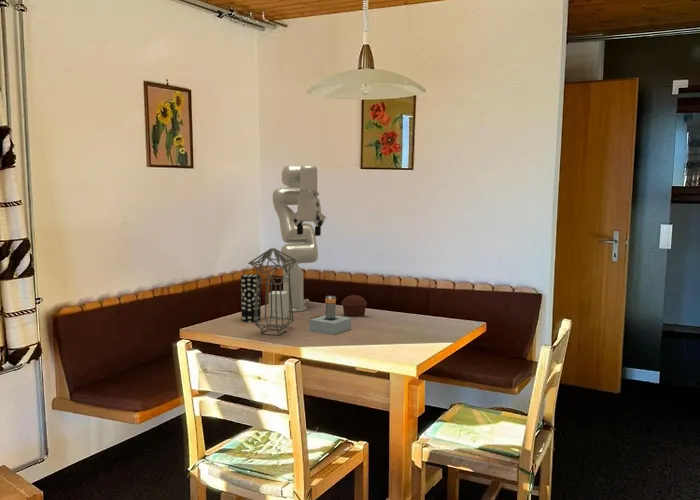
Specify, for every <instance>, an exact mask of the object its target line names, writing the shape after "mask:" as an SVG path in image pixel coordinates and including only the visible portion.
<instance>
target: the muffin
mask: <svg viewBox="0 0 700 500" xmlns="http://www.w3.org/2000/svg"><path fill="white" fill-rule="evenodd" d="M367 302H368V301H367V300H366V299H365V298H364V297H363V296H360V295H357V294H356V295H355V294H352V295H348V296H346V297H344V298H343V300H342V302H341V305H342V308H343V309H342V310H343V315H344V316H346V317H351V318H352V317H353V318H354V317H356V318H357V317H360V318H365V313H366V308H367V306H368V303H367Z"/></svg>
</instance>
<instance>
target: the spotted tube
mask: <svg viewBox="0 0 700 500" xmlns="http://www.w3.org/2000/svg"><path fill="white" fill-rule="evenodd" d="M260 277H261V274H258V273H257V281H258V280H259V279H260ZM259 282H261V280H260V281H259ZM240 297H241V299H240V301H241V302H240V303H241V309H240V310H241V322H244V323H254V314H255V299H256V273H247V274H246V273H245V274H241V275H240ZM261 314H262V313H261V283H258V321H259V320H261V319H262V316H261ZM261 321H262V320H261ZM255 322H256V319H255ZM259 322H260V321H259Z"/></svg>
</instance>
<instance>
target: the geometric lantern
mask: <svg viewBox="0 0 700 500" xmlns="http://www.w3.org/2000/svg"><path fill="white" fill-rule="evenodd" d="M272 254H274V257H275V258H272ZM281 254H283V255H285V256H287V257H289V258H291V259H289V260H286V259H285V258H284V257H283V256H282V255H281ZM256 260H257V261H256ZM266 260H267V262H266V265H264V263H265V261H266ZM274 261H276V262H277V263H276V262H274ZM288 261H291V262H290V263H289V262H288ZM296 261H297V260H296V259H294V258H292V257H290V256H288V255H286V254H284V253H282V252H281V250H279V249H277V248H275V247H271V248H269V249H267V250H266V251H264V252H263V253H261V254H259V255H258V256H257V257H255V258H254V259H252V260H250V261H249V262H248V265H251V266H252V267H254V268H255V274H256V299H255V314H254V322H253V324H254V325H255V326H256V327H257V329H259V330H260V335H267V336H278V337H279V336H282V335H283V334H285V333H286V332H287V330H284V329H287V327H288V326H289V325H290V324H292V323H293V322H294V312H293V308H292V296H291V285H290V269H291V268H292V267H293V265H294V264H295V263H296ZM270 262H271V263H272V264H273V265H269V263H270ZM280 262H281V264H280ZM282 262H283V263H284V264H283V263H282ZM285 262H287V263H288V264H285ZM292 263H293V264H292ZM291 264H292V266H291V267H290V265H291ZM288 265H289V270H287V266H288ZM257 266H258V267H257ZM285 267H286V268H285ZM264 268H265V270H264ZM267 268H271V269H270V270H268V269H267ZM278 268H282V269H283V268H284V270H285V274H286V272H288V271H289V275H288V277H289V279H288V278H284V276H285V274H284V276H283V275H282V277H274V274H275V272H276V271H277V269H278ZM262 270H263V271H262ZM258 271H259V272H260V273H261V274H260V279H259V280H258V281H257V274H258ZM272 271H273V272H272ZM270 272H272V274H270ZM263 274H265V276H266V277H263V278H262V276H263ZM287 274H288V273H287ZM265 279H266V280H265ZM269 279H270V282H268V280H269ZM274 279H279V280H280V279H281V281H280V282H279V283H276V282H275V280H274ZM283 279H288V280H287V281H288V282H289V312H288V313H289V317H287V318H283V310H282V295H281V291H282V284H283V283H284V282H283ZM263 280H265V282H263ZM259 281H260V282H259ZM261 281H262V282H261ZM287 281H285V282H287ZM258 283H260V284H266V285H265V303H264V304H265V305H264V317H262V318H261V320H259V321H258ZM268 284H269V285H270V292H271V317H269V316H267V305H268V304H267V301H268ZM273 285H274V291H275V308H276V317H272V291H273ZM278 285H279V291H280V300H281V315H282V318H279V317H277V293H276V291H277V286H278ZM290 300H291V303H290ZM291 311H292V312H291ZM269 318H270V322H268V320H267V319H269ZM271 318H276V320H275V324H272V323H271V322H272V321H271ZM255 319H256V322H255ZM277 319H278V320H281V322H282V323H281V324H278V320H277ZM263 320H265V323H266V324H263V323H262V324H261V323H260V322H261V321H263ZM284 320H287V321H286V323H285V324H284ZM261 326H262V327H261ZM266 327H267V328H266ZM265 328H266V329H265ZM274 328H275V329H274ZM278 328H279V329H278ZM267 331H268V332H270V331H271V332H276V333H277V334H275V333H274V334H271V333H265V332H267ZM281 332H282V333H281Z"/></svg>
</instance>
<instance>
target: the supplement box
mask: <svg viewBox="0 0 700 500" xmlns="http://www.w3.org/2000/svg"><path fill="white" fill-rule="evenodd" d="M276 293H277V317H279V318H282V315H281V300H280V290H276ZM281 295H282V310H283V318H289V312H288V291H283V290H281ZM268 317H271V291H270V292H269V293H268ZM272 317H276V308H275V290H272ZM268 319H269V322H268V323H270V318H268ZM278 320H279V319H277V321H278ZM274 321H276V318H271V322H274Z"/></svg>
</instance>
